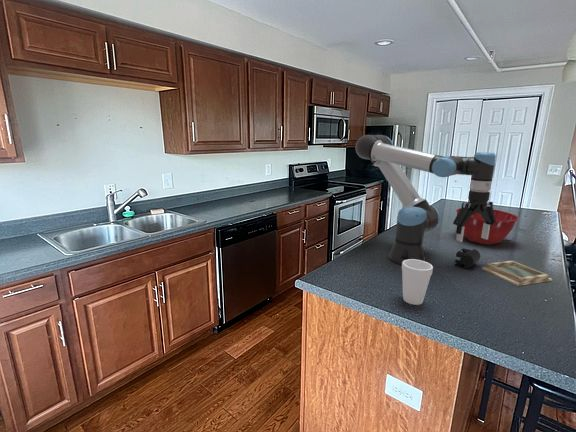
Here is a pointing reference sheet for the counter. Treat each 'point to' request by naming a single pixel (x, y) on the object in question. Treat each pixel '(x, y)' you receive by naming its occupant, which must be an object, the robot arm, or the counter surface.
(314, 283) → the counter surface
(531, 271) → the picture frame
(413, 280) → the foam cup
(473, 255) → the end cap
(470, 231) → the mixing bowl
